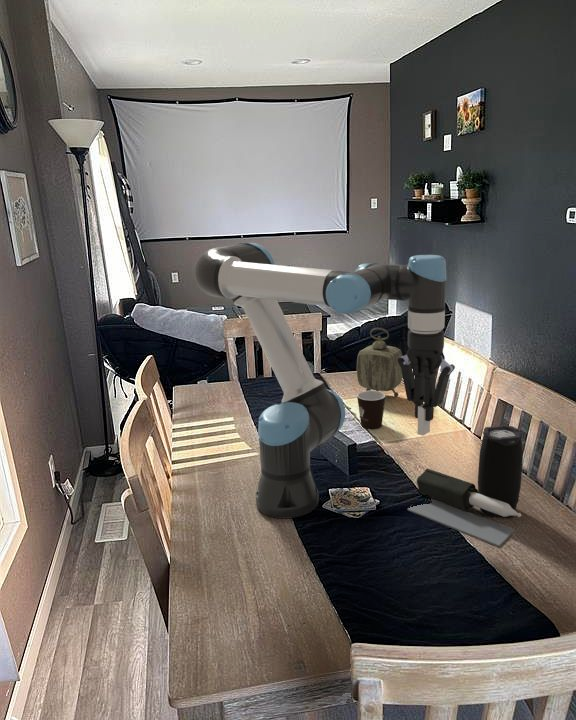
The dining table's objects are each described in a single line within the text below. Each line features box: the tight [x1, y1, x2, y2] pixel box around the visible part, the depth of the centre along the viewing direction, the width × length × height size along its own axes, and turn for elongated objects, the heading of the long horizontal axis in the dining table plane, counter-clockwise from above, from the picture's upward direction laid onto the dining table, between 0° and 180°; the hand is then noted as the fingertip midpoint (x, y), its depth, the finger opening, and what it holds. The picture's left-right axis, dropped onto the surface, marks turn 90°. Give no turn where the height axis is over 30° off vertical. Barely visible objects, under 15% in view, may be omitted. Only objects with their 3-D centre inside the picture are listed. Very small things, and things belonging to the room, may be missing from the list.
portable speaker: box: [477, 424, 524, 519], centre depth 131 cm, size 9×9×20 cm
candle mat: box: [407, 498, 516, 548], centre depth 130 cm, size 8×22×1 cm, turn 46°
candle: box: [416, 468, 522, 518], centre depth 133 cm, size 5×5×25 cm
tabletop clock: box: [356, 327, 404, 397], centre depth 204 cm, size 14×9×25 cm, turn 58°
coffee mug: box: [356, 390, 386, 431], centre depth 183 cm, size 12×9×10 cm
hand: (423, 432), depth 131 cm, fingers closed
